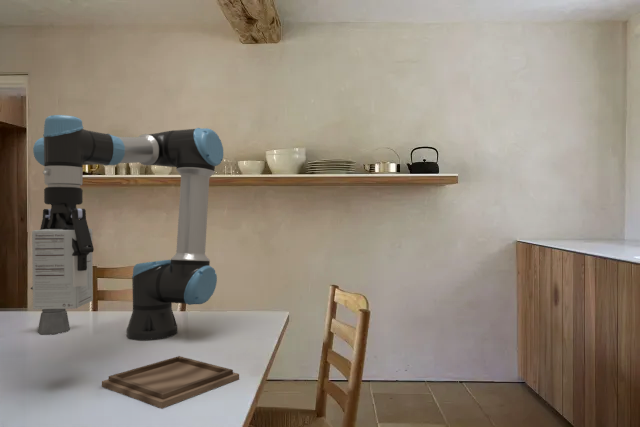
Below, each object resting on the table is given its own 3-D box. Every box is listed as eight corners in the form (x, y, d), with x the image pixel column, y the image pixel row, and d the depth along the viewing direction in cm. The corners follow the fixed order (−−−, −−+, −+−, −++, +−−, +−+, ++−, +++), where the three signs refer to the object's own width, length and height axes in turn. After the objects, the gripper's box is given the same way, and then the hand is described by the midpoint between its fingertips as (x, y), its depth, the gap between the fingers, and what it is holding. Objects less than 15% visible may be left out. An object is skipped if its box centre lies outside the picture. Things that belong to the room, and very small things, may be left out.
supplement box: (52, 301, 113) (51, 228, 113) (93, 300, 114) (93, 228, 114) (31, 309, 103) (30, 229, 103) (76, 308, 104) (76, 229, 104)
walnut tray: (101, 386, 108) (101, 376, 108) (179, 363, 125) (179, 354, 125) (161, 408, 95) (161, 397, 95) (239, 379, 112) (239, 369, 112)
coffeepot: (28, 336, 152) (28, 278, 152) (32, 330, 161) (32, 275, 161) (83, 332, 158) (83, 276, 158) (84, 326, 167) (84, 273, 167)
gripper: (19, 187, 113) (19, 281, 113) (76, 183, 98) (76, 290, 98) (53, 189, 119) (53, 277, 119) (111, 185, 104) (111, 286, 104)
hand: (63, 283), depth 108 cm, fingers closed on supplement box, 13 cm apart
